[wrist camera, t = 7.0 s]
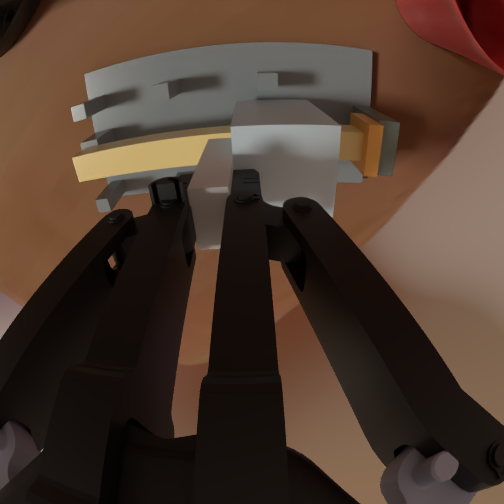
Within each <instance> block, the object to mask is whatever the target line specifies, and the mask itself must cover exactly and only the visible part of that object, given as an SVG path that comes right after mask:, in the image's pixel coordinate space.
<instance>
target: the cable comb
mask: <svg viewBox="0 0 504 504" xmlns="http://www.w3.org/2000/svg"><path fill="white" fill-rule="evenodd" d="M84 75H85V82H86V88H87V94H88V101H85V102H83V103H81V104H78V105H76V106H73V107H71V111H72V116H73V120H74V122H76V121H79V120H83V119H86V118H88V117H90V116H92V121H93V125H94V130H95V134H93V135H92V136H90V137H89V138H87V139H86V140H84V141H83V142H82V143H80V144H81V148H82V151H81V152H79V153H78V154H77V155H75V156H74V157H73V158H72V159H73V163H74V166H75V169H76V173H77V176H78V179H79V182H82V181H88V180H93V179H98V178H104V177H106V178H107V182H108V186H107V187H106V188H105V189H104V190H103V191H102V193H101V194H100V195H99V196H98V197H97V199H96V200H95V201H96V204H97V207H98V210H99V213H100V212H108V211H112V209H113V208H114V206H115V205H116V204H117V202H118V201H119V199H120V198H121V197H122V196H124V195H132V194H140V193H149V188H148V185H149V184H150V183H151V182H153V181H155V180H157V179H160V178H164V177H179V176H180V175H182V174H193V173H194V171H195V169H196V167H197V164H198V162H199V160H200V157H201V155H202V153H203V151H204V148H205V146H206V144H207V142H208V139H218V138H231V129H230V126H231V122H232V117H233V113H234V109H235V104H236V101H246V100H277V99H295V100H308V101H309V102H310V103H312V104H313V105H315V106H316V107H317V108H319V109H320V110H321V111H323V112H324V113H325V114H327V115H328V116H329V117H331V118H332V119H333V120H334V121H336V122H337V123H338V124H339V125H341V136H340V150H339V162H338V173H337V182H356V183H362V178H363V176H369V177H377V175H380V176H392V174H393V169H394V163H395V157H396V150H397V143H398V136H399V128H400V123H399V122H398V121H396V120H394V119H392V118H390V117H388V116H387V115H385V114H383V113H381V112H379V111H377V110H375V109H373V108H371V107H370V101H371V83H372V51H371V50H365V49H359V48H352V47H344V46H336V45H326V44H313V43H294V42H254V43H235V44H222V45H212V46H203V47H196V48H189V49H182V50H176V51H171V52H165V53H160V54H155V55H151V56H146V57H142V58H138V59H134V60H130V61H126V62H122V63H119V64H115V65H112V66H109V67H105V68H102V69H99V70H96V71H93V72H90V73H87V74H84Z"/></svg>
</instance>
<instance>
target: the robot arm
mask: <svg viewBox="0 0 504 504" xmlns="http://www.w3.org/2000/svg"><path fill="white" fill-rule="evenodd" d="M39 1H40V0H0V56H2V55H3V54H4V53H5V52H6V51H7V50H8V49H9V48H10V47H11V46H12V45H13V44H14V42H15V41H16V40H17V39H18V37H19V36H20V34H21V33H22V32H23V30H24V29H25V27H26V25H27V24H28V22H29V20H30V19H31V17H32V15H33V13H34V11H35V9H36V7H37V5H38V3H39ZM148 188H149V192H150V197H151V201H152V207H151V209H150V211H149V212H148V214H147V215H143V216H140V217H136V218H134V217H133V213H132V211H130V210H128V209H118V210H114V211H112V212H111V213H109V214H107V215H106V216H105V217H104V218H103V219H102V220H100V221H99V222H98V223H97V224H96V225H95V226H94V227H93V228H92V229H91V230H90V231H89V232H88V233H87V234H86V235H85V237H84V238H83V239H82V240H81V241H80V242H79V243H78V244H77V245H76V246H75V247H74V248H73V249H72V250H71V251H70V252H69V253H68V255H67V256H66V257H65V258H64V259H63V260H62V261H61V262H60V263H59V265H58V266H57V267H56V268H55V269H54V270H53V271H52V273H51V274H50V275H49V276H48V277H47V278H46V280H45V281H44V282H43V283H42V284H41V286H40V287H39V288H38V289H37V291H36V292H35V293H34V294H33V296H32V297H31V298H30V299H29V301H28V302H27V303H26V305H25V306H24V307H23V309H22V310H21V311H20V313H19V314H18V315H17V317H16V318H15V320H14V321H13V322H12V323H11V325H10V326H9V328H8V329H7V331H6V332H5V334H4V335H3V337H2V338H1V340H0V504H360V503H359V502H357V501H356V500H355V499H354V498H353V497H351V496H350V495H349V494H348V493H347V492H345V491H344V490H343V489H342V488H341V487H340V486H339V485H338V484H337V483H335V482H334V481H333V480H332V479H331V478H330V477H329V476H328V475H327V474H325V473H324V472H323V471H322V470H321V469H320V468H319V467H318V466H317V465H316V464H315V463H314V462H312V461H311V460H310V459H309V458H307V457H306V456H304V455H303V454H301V453H299V452H297V451H296V450H294V449H292V448H289V447H287V446H286V434H285V419H284V407H283V406H284V405H283V392H282V382H281V376H280V375H279V371H278V360H277V348H276V334H275V323H274V311H273V299H272V288H271V277H270V266H269V259H270V260H275V261H280V262H281V265H282V269H283V271H284V272H285V274H286V276H287V278H288V280H289V282H290V284H291V286H292V288H293V290H294V292H295V294H296V296H297V298H298V300H299V302H300V304H301V306H302V308H303V310H304V312H305V314H306V316H307V318H308V320H309V322H310V324H311V326H312V328H313V329H314V332H315V333H316V336H317V338H318V340H319V342H320V344H321V346H322V347H323V350H324V352H325V354H326V356H327V358H328V360H329V362H330V364H331V366H332V368H333V370H334V372H335V374H336V376H337V378H338V380H339V382H340V384H341V386H342V389H343V390H344V393H345V395H346V397H347V399H348V401H349V403H350V405H351V407H352V409H353V411H354V413H355V415H356V418H357V420H358V422H359V424H360V426H361V428H362V430H363V433H364V435H365V436H366V438H367V440H368V442H369V444H370V446H371V447H372V449H373V451H374V452H375V453H376V455H377V456H378V457H379V459H380V460H381V461H382V463H383V464H384V465H385V466H386V467H387V468H386V469H385V471H384V472H383V475H382V477H381V483H380V488H381V492H382V494H383V496H384V498H385V500H386V501H387V503H388V504H469V503H470V501H471V500H472V498H473V497H474V496H475V494H476V493H477V492H478V491H480V490H483V489H487V488H490V487H493V486H496V485H498V484H500V483H502V482H503V481H504V426H503V425H502V424H501V423H500V422H499V421H497V420H496V419H495V418H494V417H493V416H492V415H491V414H490V413H488V412H487V411H486V410H485V409H484V408H483V407H481V406H480V405H479V404H478V403H477V402H476V401H475V400H473V399H472V398H471V397H470V396H469V395H468V394H467V393H465V392H464V391H463V390H462V389H461V388H460V386H459V384H458V383H457V381H456V379H455V378H454V376H453V375H452V373H451V372H450V370H449V368H448V367H447V365H446V364H445V362H444V361H443V359H442V358H441V356H440V355H439V353H438V352H437V350H436V349H435V347H434V346H433V344H432V343H431V341H430V340H429V339H428V337H427V336H426V334H425V333H424V331H423V330H422V329H421V327H420V326H419V325H418V323H417V322H416V320H415V319H414V318H413V316H412V315H411V314H410V312H409V311H408V309H407V308H406V307H405V305H404V304H403V303H402V302H401V300H400V299H399V298H398V296H397V295H396V294H395V293H394V291H393V290H392V289H391V287H390V286H389V285H388V284H387V282H386V281H385V280H384V278H383V277H382V276H381V275H380V273H379V272H378V271H377V270H376V268H375V267H374V266H373V265H372V264H371V262H370V261H369V260H368V259H367V258H366V256H365V255H364V254H363V253H362V252H361V250H360V249H359V248H358V247H357V246H356V245H355V243H354V242H353V241H352V240H351V239H350V238H349V236H348V235H347V234H346V233H345V232H344V231H343V230H342V228H341V227H340V226H339V225H338V224H337V223H336V222H335V221H334V219H333V218H332V217H331V216H330V215H329V214H328V213H327V212H326V211H325V210H324V208H323V207H322V206H321V205H320V204H319V203H318V202H316V201H315V200H312V199H310V198H307V197H294V198H290V199H288V200H286V201H284V203H283V207H278V206H273V205H270V204H268V203H266V202H264V200H263V197H262V195H261V186H260V177H259V172H257V171H256V170H255V169H240V170H234V167H233V154H232V142H231V138H218V139H208V142H207V144H206V146H205V148H204V151H203V153H202V155H201V157H200V160H199V162H198V164H197V167H196V169H195V171H194V173H193V174H182V175H180V176H179V177H164V178H160V179H157V180H155V181H153V182H151V183H150V184H149V185H148ZM195 241H196V243H197V248H198V250H201V249H220V255H219V264H218V273H217V282H216V292H215V301H214V311H213V322H212V333H211V344H210V355H209V367H208V373H207V375H206V376H205V377H204V378H203V380H202V383H201V389H200V398H199V409H198V424H197V435H191V436H185V437H179V438H174V425H173V422H172V416H171V409H172V400H173V393H174V385H175V378H176V371H177V364H178V357H179V350H180V344H181V338H182V332H183V325H184V320H185V314H186V308H187V302H188V297H189V291H190V286H191V281H192V276H193V270H194V265H195V260H196V253H195V248H194V245H195ZM111 255H112V256H113V258H114V261H115V263H116V265H115V266H114V267H113V268H111V267H110V264H109V262H108V259H109V258H110V257H111ZM42 449H43V451H42V452H40V451H41V450H42Z"/></svg>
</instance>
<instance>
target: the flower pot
mask: <svg viewBox="0 0 504 504" xmlns="http://www.w3.org/2000/svg"><path fill="white" fill-rule="evenodd" d="M396 3H397V7H398V9H399V12H400V14H401V16H402V17H403V19H404V21H405V22H406V23H407V25H408V26H409V27H410V28H411V29H412V30H413V31H414V32H415V33H416V34H417V35H418V36H420V37H421V38H422V39H424V40H426V41H428V42H430V43H432V44H435V45H437V46H440V47H442V48H445V49H448V50H450V51H452V52H455V53H457V54H459V55H462V56H464V57H466V58H468V59H470V60H472V61H474V62H477V63H479V64H481V65H483V66H485V67H487V68H489V69H491V70H493V71H495V72H497V73H499V74H501V75H503V76H504V0H396Z"/></svg>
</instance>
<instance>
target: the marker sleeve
mask: <svg viewBox="0 0 504 504" xmlns="http://www.w3.org/2000/svg"><path fill="white" fill-rule="evenodd" d="M230 129H231V142H232V154H233V167H234V170H240V169H255V170H256V171H257V172H259V177H260V186H261V195H262V197H263V200H264V202H266V203H268V204H270V205H273V206H278V207H283V203H284V201H286V200H288V199H290V198H294V197H307V198H310V199H312V200H315V201H316V202H318V203H319V204H320V205H321V206H322V207H323V208H324V210H325V211H326V212H327V213H328V214H329V215H330V216H331V217H332V218H333V210H334V201H335V192H336V183H337V173H338V162H339V150H340V136H341V125H339V124H338V123H337V122H336V121H334V120H333V119H332V118H331V117H329V116H328V115H327V114H325V113H324V112H323V111H321V110H320V109H319V108H317V107H316V106H315V105H313V104H312V103H310V102H309V101H308V100H295V99H277V100H246V101H236V104H235V109H234V113H233V117H232V122H231V126H230Z"/></svg>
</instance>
